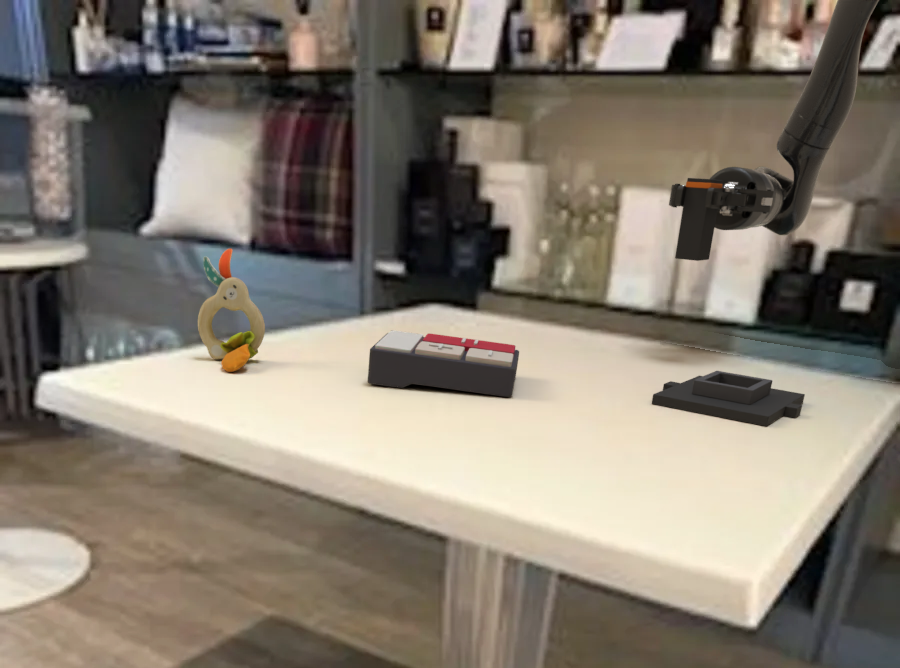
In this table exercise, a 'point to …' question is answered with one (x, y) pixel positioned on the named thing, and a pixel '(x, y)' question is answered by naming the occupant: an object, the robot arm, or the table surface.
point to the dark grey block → (696, 221)
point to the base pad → (731, 398)
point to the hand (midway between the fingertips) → (694, 196)
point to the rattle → (232, 298)
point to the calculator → (443, 363)
